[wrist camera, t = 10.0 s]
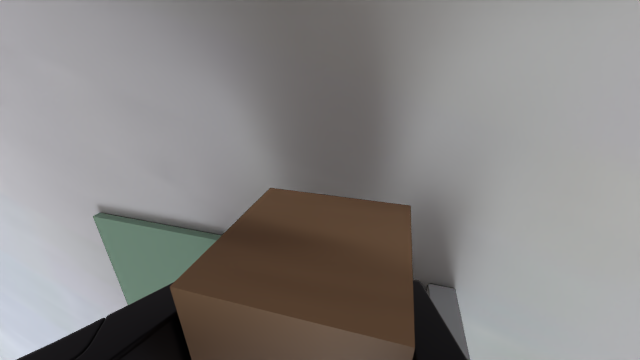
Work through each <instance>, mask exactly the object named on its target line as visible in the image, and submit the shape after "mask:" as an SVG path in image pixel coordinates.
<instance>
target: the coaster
mask: <svg viewBox="0 0 640 360" xmlns="http://www.w3.org/2000/svg"><path fill="white" fill-rule="evenodd" d="M93 218H94V221H95V223H96V226H97V228H98V231H99V233H100V236H101V238H102V241H103V243H104V246H105V248H106V251H107V253H108V256H109V258H110V261H111V263H112V266H113V268H114V271H115V273H116V276H117V278H118V281H119V283H120V286H121V288H122V291H123V293H124V296H125V298H126V301H127V303H128V305H130V304H131V303H133V302H135V301H137V300H139V299H141V298H143V297H145V296H147V295H149V294H151V293H153V292H155V291H157V290H159V289H161V288H163V287H165V286H167V285H169V284H171V283H173V282H175V281H176V280H177V279H178V278H179V277H180V276H181V275H182V274H183V273H184V272H185V271H186V270H187V269H188V268H189V267H190V266H191V265H192V264H193V263H194V262H195V261H196V260H197V259H198V258H199V257H200V256H201V255H202V254H203V253H204V252H205V251H206V250H207V249H208V248H210V247H211V246H212V245H213V244H214V243H215V242H216V241H217V240H218V239H219V238H220V237H221V236H222V235H217V234H211V233H206V232H201V231H195V230H190V229H185V228H179V227H174V226H168V225H163V224H158V223H152V222H147V221H142V220H136V219H131V218H126V217H120V216H115V215H109V214H104V213H98V214H97V215H95V216H93Z"/></svg>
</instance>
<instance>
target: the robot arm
mask: <svg viewBox="0 0 640 360" xmlns="http://www.w3.org/2000/svg"><path fill="white" fill-rule="evenodd" d="M173 283H174V282H173ZM173 283H171V284H169V285H167V286H165V287H163V288H161V289H159V290H157V291H155V292H153V293H151V294H149V295H147V296H145V297H143V298H141V299H139V300H137V301H135V302H133V303H131V304H130V305H128V306H126V307H124V308H122V309H120V310H118V311H116V312H114V313H112V314H110V315H108V316H107V317H106V318H102V319H100V320H98V321H96V322H94V323H92V324H90V325H88V326H86V327H84V328H82V329H80V330H78V331H76V332H74V333H72V334H70V335H68V336H66V337H64V338H62V339H60V340H58V341H56V342H54V343H51V344H49V345H47V346H45V347H43V348H41V349H38V350H36V351H34V352H32V353H30V354H27V355H25V356H23V357H21V358H19V359H17V360H192V359H191V356H190V353H189V349H188V346H187V343H186V339H185V336H184V333H183V329H182V326H181V323H180V319H179V316H178V313H177V310H176V306H175V303H174V300H173V296H172V293H171V290H170V286H171V285H172V284H173ZM413 302H414V334H415V350H414V355H413V359H412V360H468V359H467V358H466V356H465V355H464V353H463V351H462V350H461V348H460V346H459V345H458V343H457V341H456V340H455V338H454V336H453V335H452V333H451V331H450V330H449V328H448V326H447V325H446V323H445V321H444V320H443V318H442V316H441V315H440V313H439V311H438V310H437V308H436V307H435V305H434V303H433V302H432V300H431V298H430V297H429V295H428V293H427V292H426V290H425V288H424V287H423V285H422V283H421V282H420V281H418V280H414V279H413Z"/></svg>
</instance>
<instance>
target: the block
mask: <svg viewBox="0 0 640 360" xmlns="http://www.w3.org/2000/svg"><path fill="white" fill-rule="evenodd" d="M170 290H171V293H172V296H173V300H174V303H175V306H176V310H177V313H178V316H179V319H180V323H181V326H182V329H183V333H184V336H185V339H186V343H187V346H188V349H189V353H190V356H191V359H192V360H412V359H413V355H414V350H415V334H414V302H413V269H412V237H411V206H409V205H401V204H393V203H386V202H378V201H370V200H362V199H354V198H346V197H338V196H330V195H323V194H315V193H307V192H299V191H291V190H283V189H275V188H270V189H269V190H268V191H267V192H266V193H265V194H264V195H263V196H262V197H260V198H259V199H258V200H257V201H256V202H255V203H254V204H253V205H252V206H251V207H250V208H249V209H248V210H247V211H246V212H245V213H244V214H243V215H242V216H241V217H240V218H239V219H238V220H237V221H236V222H235V223H234V224H233V225H232V226H231V227H230V228H229V229H228V230H227V231H226V232H225V233H224V234H223V235H222V236H221V237H220V238H219V239H218V240H217V241H216V242H215V243H214V244H213V245H212V246H211V247H210V248H208V249H207V250H206V251H205V252H204V253H203V254H202V255H201V256H200V257H199V258H198V259H197V260H196V261H195V262H194V263H193V264H192V265H191V266H190V267H189V268H188V269H187V270H186V271H185V272H184V273H183V274H182V275H181V276H180V277H179V278H178V279H177V280H176V281H175V282H174V283H173V284H172V285H171V286H170Z"/></svg>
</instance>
